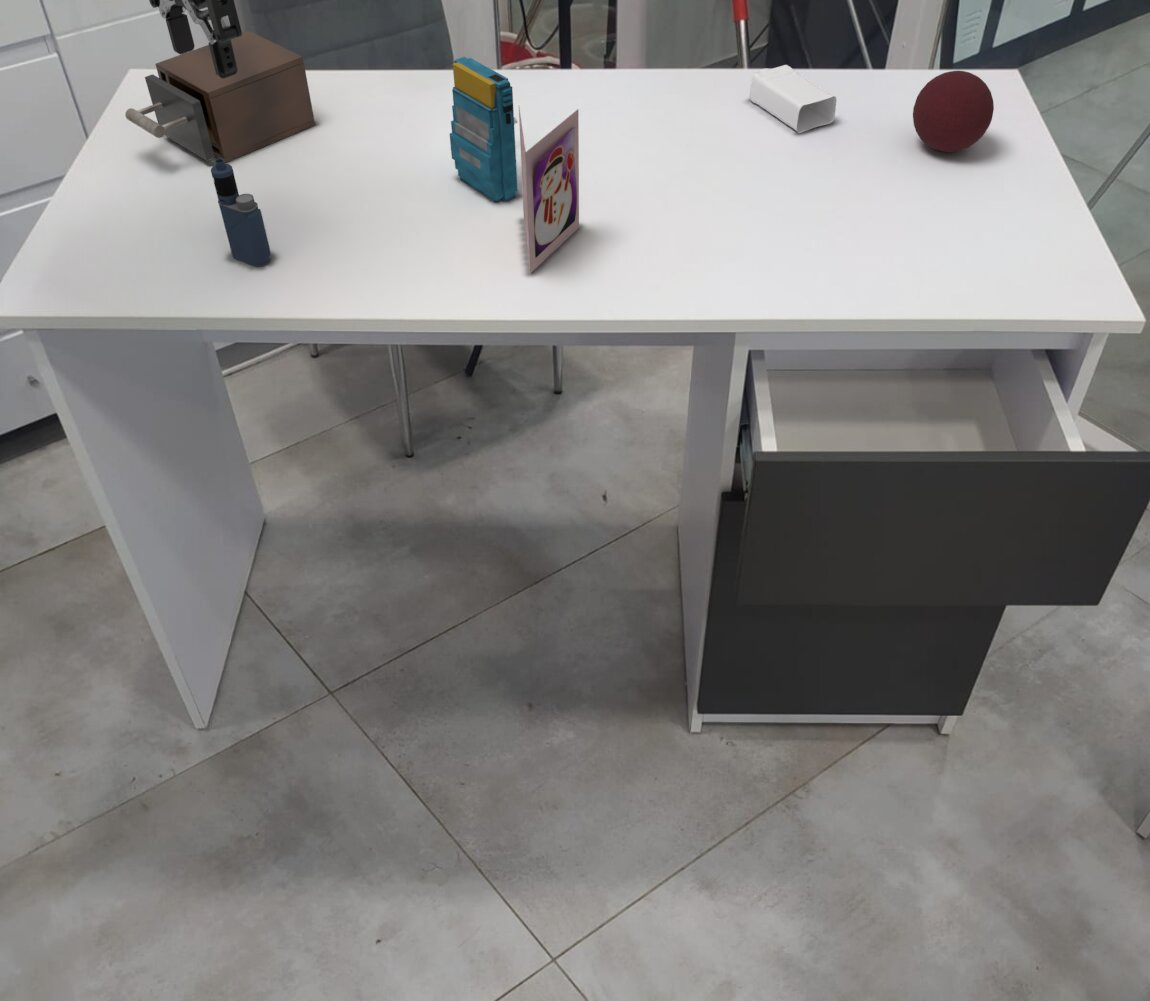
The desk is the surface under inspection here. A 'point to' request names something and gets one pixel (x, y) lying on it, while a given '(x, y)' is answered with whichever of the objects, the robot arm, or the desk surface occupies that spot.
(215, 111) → the cabinet
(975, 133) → the decorative ball
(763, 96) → the white rectangular box
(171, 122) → the drawer
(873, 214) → the desk surface
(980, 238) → the desk surface
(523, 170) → the greeting card
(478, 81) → the teal upright block
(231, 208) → the vaping device
